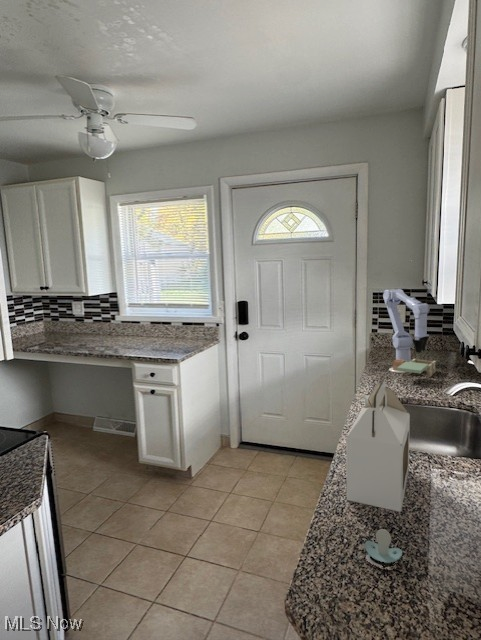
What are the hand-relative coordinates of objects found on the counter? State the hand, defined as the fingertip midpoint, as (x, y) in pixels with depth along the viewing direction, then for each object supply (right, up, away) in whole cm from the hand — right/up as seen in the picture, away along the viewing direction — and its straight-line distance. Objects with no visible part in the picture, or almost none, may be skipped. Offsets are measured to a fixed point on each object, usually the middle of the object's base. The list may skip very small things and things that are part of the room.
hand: (420, 351), depth 221 cm
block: (-11, -10, +2) cm, 15 cm away
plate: (-11, -11, +2) cm, 15 cm away
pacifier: (-68, -33, -136) cm, 156 cm away
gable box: (-59, -29, -108) cm, 127 cm away
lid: (-12, -7, -18) cm, 22 cm away
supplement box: (-48, -23, -75) cm, 92 cm away
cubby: (-2, -11, -5) cm, 13 cm away
